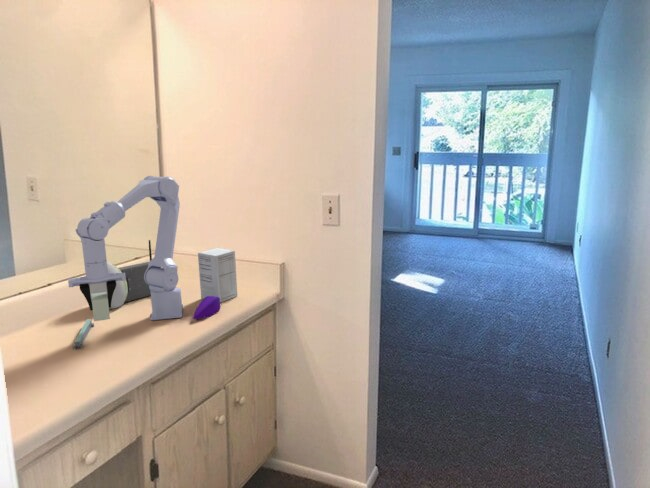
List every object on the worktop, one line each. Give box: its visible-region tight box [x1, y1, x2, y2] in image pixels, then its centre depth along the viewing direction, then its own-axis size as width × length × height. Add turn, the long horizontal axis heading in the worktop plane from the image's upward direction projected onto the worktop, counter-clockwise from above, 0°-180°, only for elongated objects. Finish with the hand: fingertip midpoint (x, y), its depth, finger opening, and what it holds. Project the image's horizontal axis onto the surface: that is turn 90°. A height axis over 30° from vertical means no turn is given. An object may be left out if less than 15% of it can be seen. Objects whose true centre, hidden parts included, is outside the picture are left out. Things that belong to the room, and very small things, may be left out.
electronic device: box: [118, 239, 153, 303], centre depth 179 cm, size 17×7×20 cm, turn 141°
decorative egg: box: [89, 262, 128, 310], centre depth 172 cm, size 12×12×15 cm
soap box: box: [91, 292, 111, 322], centre depth 144 cm, size 7×4×6 cm, turn 26°
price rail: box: [72, 318, 95, 350], centre depth 146 cm, size 2×18×2 cm, turn 15°
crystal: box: [193, 296, 221, 320], centre depth 163 cm, size 5×5×15 cm
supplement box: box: [197, 247, 238, 303], centre depth 179 cm, size 10×9×17 cm
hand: (100, 308), depth 144 cm, fingers closed on soap box, 4 cm apart
